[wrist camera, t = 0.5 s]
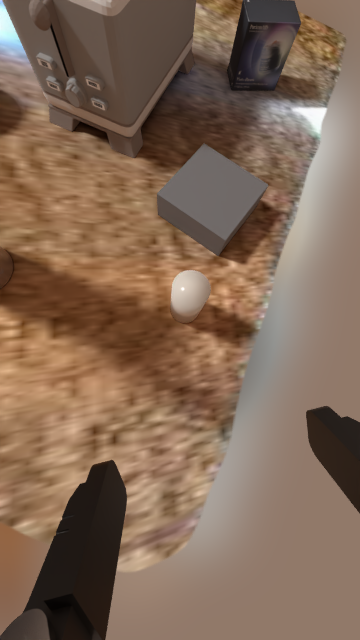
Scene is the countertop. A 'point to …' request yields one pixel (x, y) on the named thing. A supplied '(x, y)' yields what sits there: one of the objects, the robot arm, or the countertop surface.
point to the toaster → (105, 59)
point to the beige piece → (188, 295)
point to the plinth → (210, 198)
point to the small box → (262, 43)
